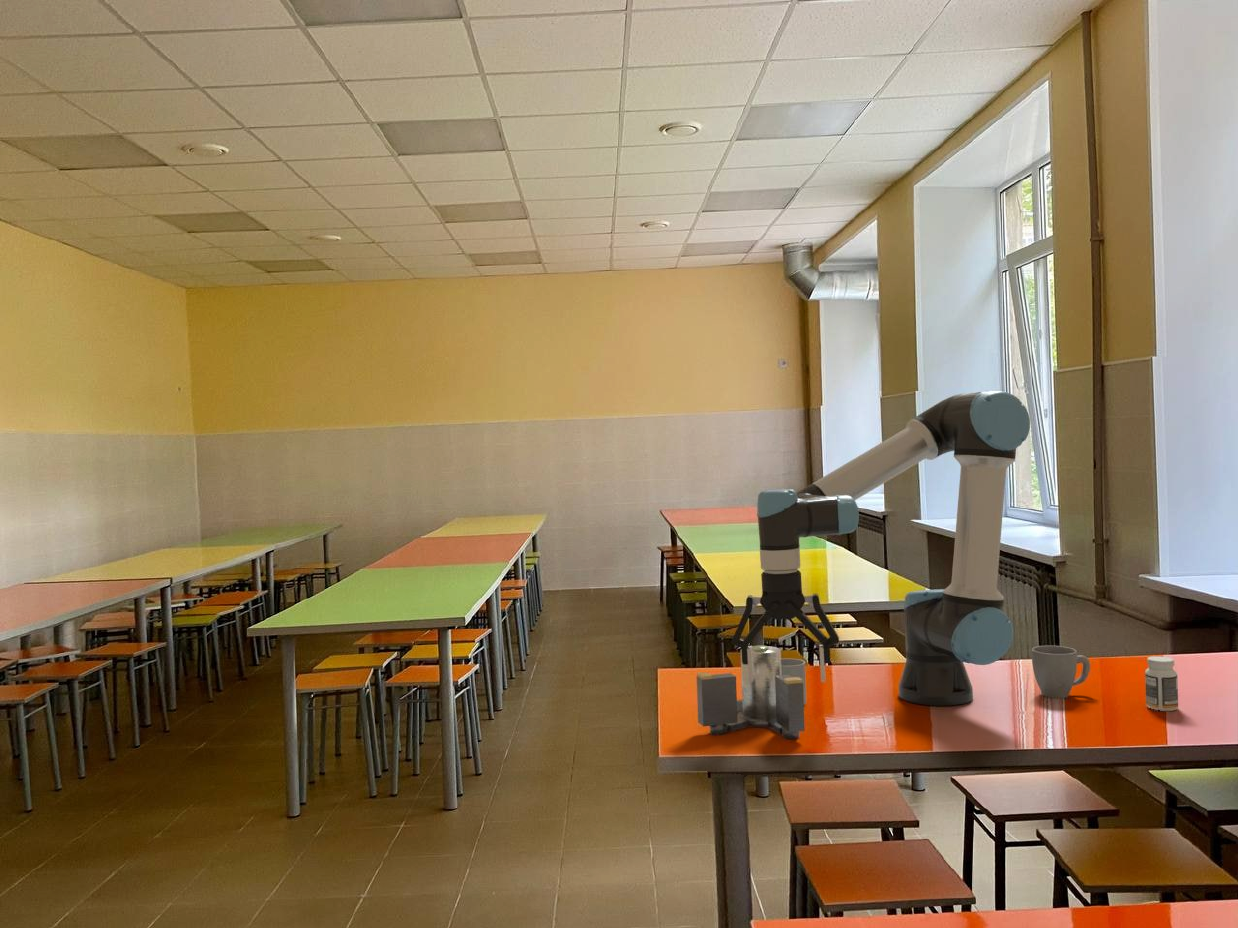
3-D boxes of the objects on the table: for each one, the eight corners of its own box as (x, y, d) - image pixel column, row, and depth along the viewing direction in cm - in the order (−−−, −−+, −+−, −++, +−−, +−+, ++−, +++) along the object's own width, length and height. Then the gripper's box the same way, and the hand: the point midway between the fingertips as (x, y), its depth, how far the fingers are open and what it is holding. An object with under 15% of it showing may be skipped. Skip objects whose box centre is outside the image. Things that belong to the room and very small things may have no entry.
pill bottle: (1177, 705, 198) (1175, 656, 198) (1179, 713, 193) (1178, 662, 193) (1144, 703, 201) (1143, 655, 201) (1146, 710, 196) (1145, 661, 195)
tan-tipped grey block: (732, 728, 194) (730, 669, 194) (738, 733, 191) (736, 673, 191) (698, 732, 192) (696, 673, 192) (703, 737, 189) (701, 676, 189)
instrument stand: (800, 713, 203) (798, 641, 203) (790, 735, 188) (787, 658, 188) (736, 710, 207) (734, 639, 207) (720, 731, 192) (718, 655, 192)
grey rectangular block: (776, 732, 190) (774, 672, 190) (792, 731, 191) (790, 671, 191) (789, 743, 183) (787, 681, 183) (805, 741, 184) (803, 679, 184)
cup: (808, 708, 207) (807, 665, 206) (760, 709, 207) (758, 666, 207) (804, 699, 214) (803, 658, 214) (757, 700, 214) (756, 659, 214)
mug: (1045, 701, 205) (1043, 655, 205) (1025, 690, 214) (1024, 646, 214) (1101, 698, 206) (1100, 652, 205) (1079, 688, 214) (1078, 643, 214)
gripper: (847, 565, 190) (853, 675, 190) (717, 569, 195) (724, 676, 196) (848, 571, 183) (854, 685, 183) (713, 575, 188) (720, 686, 188)
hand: (787, 680), depth 189 cm, fingers open, 13 cm apart
